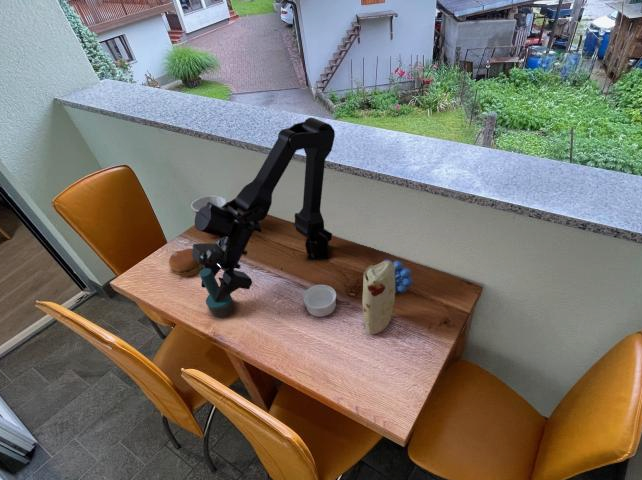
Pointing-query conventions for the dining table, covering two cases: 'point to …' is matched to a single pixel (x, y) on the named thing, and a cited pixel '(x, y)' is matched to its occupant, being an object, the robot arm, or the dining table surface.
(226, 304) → the teal peg stand
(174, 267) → the burger
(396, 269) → the grapes
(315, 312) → the ramekin
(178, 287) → the dining table surface
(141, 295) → the dining table surface
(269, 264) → the dining table surface
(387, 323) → the food model
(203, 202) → the plastic cup
